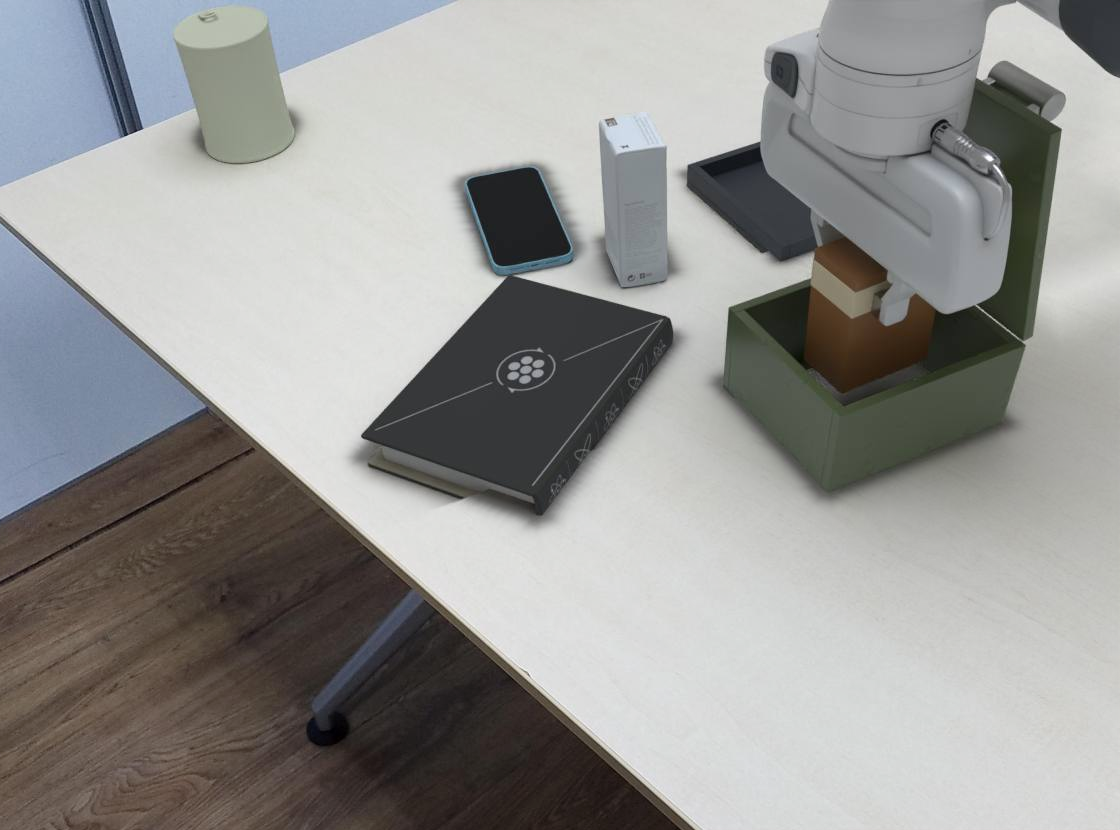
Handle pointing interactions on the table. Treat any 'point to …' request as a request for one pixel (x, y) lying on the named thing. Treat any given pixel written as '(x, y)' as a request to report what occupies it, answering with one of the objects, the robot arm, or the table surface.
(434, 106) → the table surface
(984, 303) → the lid
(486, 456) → the book
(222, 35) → the can
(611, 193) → the cosmetic box
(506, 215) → the smartphone
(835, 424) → the green box base
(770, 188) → the tray
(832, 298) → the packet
